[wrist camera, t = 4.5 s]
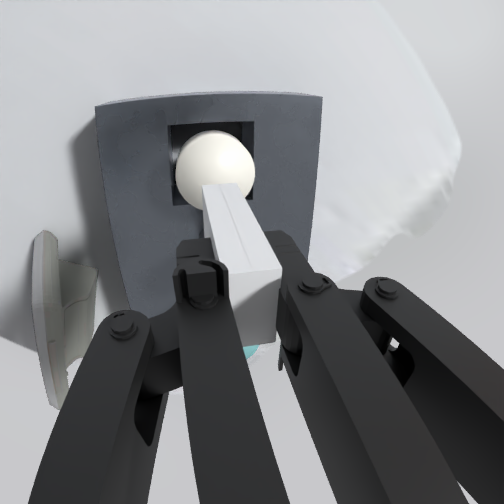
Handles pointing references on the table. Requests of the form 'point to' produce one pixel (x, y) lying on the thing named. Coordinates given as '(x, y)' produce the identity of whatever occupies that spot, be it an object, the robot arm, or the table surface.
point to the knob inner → (212, 165)
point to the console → (166, 193)
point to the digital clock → (60, 313)
